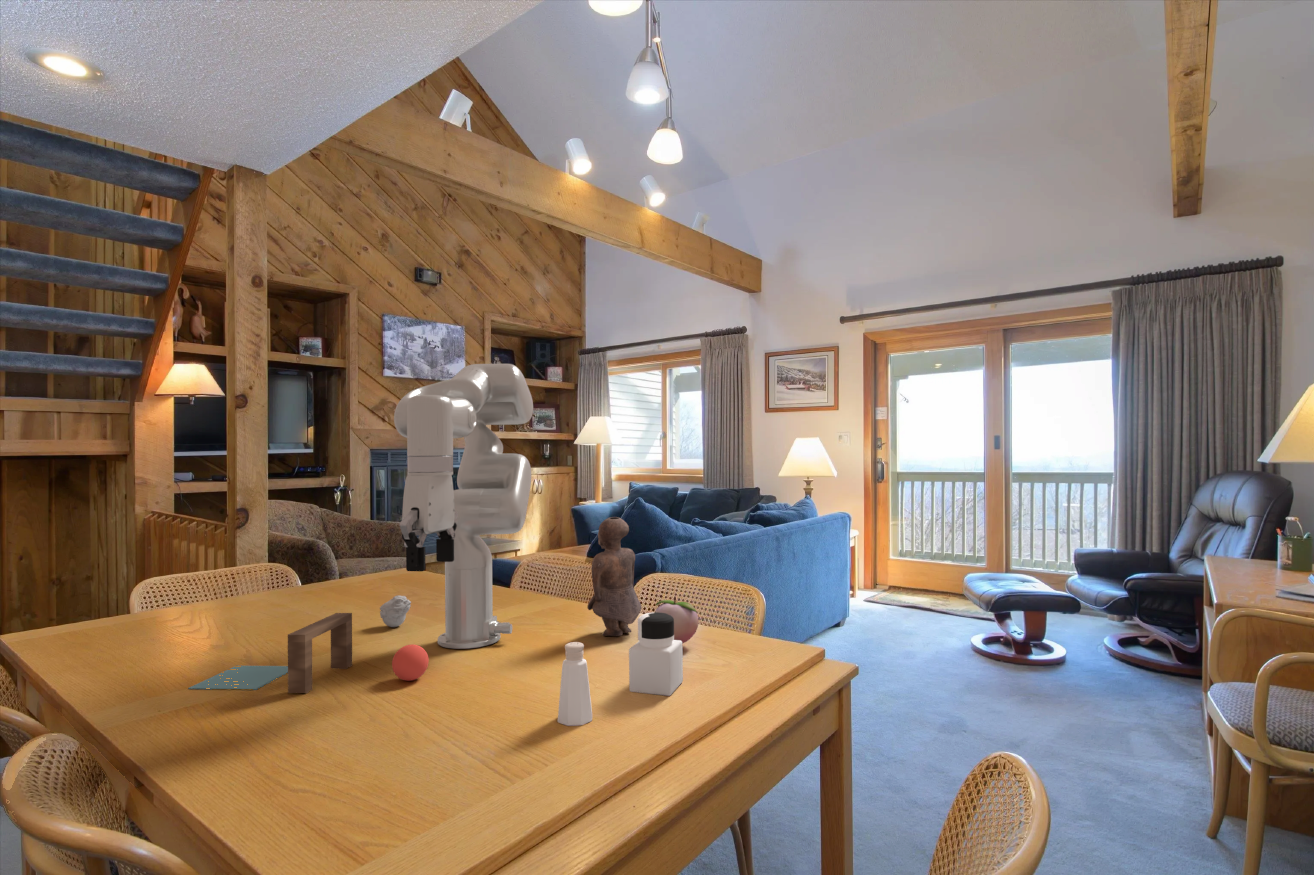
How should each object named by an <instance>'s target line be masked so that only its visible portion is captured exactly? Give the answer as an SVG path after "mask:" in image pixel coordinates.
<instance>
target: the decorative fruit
mask: <svg viewBox="0 0 1314 875" xmlns="http://www.w3.org/2000/svg"><path fill="white" fill-rule="evenodd" d="M676 597H677V596H674V597H673V600H671V599H662V600H659V601H658V602H656V603H655V606H657V608H656V609H655V611H654V612H660V613H666V614H669V615H671V616H672V617H673V618H674V640H681V641H682V645H683V644H684V643H687V642H688V641H689V640H690V639H691V638H692V637H693V636H694V635H695V634H696V633H697V630H698V628H699V627H698V626H699V616H698V613H697V610H696V608H695V607H694V606H693V605H692V604H691V603H688V602H687V601H686V602H685V601H679V602H676V601H677V600H676ZM658 605H659V606H658Z"/></svg>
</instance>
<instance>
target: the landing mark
mask: <svg viewBox="0 0 1314 875" xmlns="http://www.w3.org/2000/svg"><path fill="white" fill-rule="evenodd" d="M240 666H241V667H235V666H232V667H231V668H229V669H236V670H228V669H226V670H224V671H223V672H224V673H222V672H220V673H217V674H215V675H213V676H212V677H209V678H207V679H204V680H203V681H200V682H198V683H196V684H194V685H191V686H190V687H188V688H187V689H188V690H207V689H206V688H210V689H209V690H212V689H253V690H252V691H257V690H259V689H261V688H262V687H264V685H265V686H267V685H269V684H271V683H272V682H274V681H276V680H277V679H276V678H278V679H279V677H280V678H282V677H283V676H285V675H287V674H288V665H240ZM237 669H238V670H237ZM237 672H238V673H237ZM286 673H287V674H286ZM219 675H221V676H219ZM222 675H223V676H222ZM282 675H283V676H282ZM220 678H221V679H220ZM226 678H230V679H226ZM231 678H232V679H231ZM275 679H276V680H275ZM273 680H274V681H273ZM208 681H209V682H208ZM224 681H229V682H224ZM233 681H238V682H233ZM243 681H244V682H243ZM271 681H272V682H271ZM208 684H209V685H208ZM215 684H216V685H215ZM217 684H218V685H217ZM226 684H227V685H226ZM234 684H239V685H234ZM247 684H248V685H247ZM266 684H267V685H266ZM231 685H232V686H231ZM234 687H237V688H234ZM260 687H261V688H260ZM258 688H259V689H258Z"/></svg>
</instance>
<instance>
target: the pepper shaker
mask: <svg viewBox="0 0 1314 875" xmlns="http://www.w3.org/2000/svg"><path fill="white" fill-rule="evenodd" d="M584 647H585V645H584V643H582V642H579V641H573V642H572V641H571V642H568V643H566V644H565V645H564V649H565V652H564V653H565V659H564V660H562V666H561V677H560V678H561V679H560V690H559V701H558V710H557V713H558V714H557V723H558V724H561V725H564V726H567V727H575V726H578V727H579V726H583V725H585V724H588V723H590V722H592V721H593V710H592V699H591V690H590V681H589V671H588V662H587V659H585V658H584V654H585V653H584V652H585V651H584Z"/></svg>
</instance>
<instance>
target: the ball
mask: <svg viewBox="0 0 1314 875" xmlns="http://www.w3.org/2000/svg"><path fill="white" fill-rule="evenodd" d="M429 661H430V658H429V654H428V653H427V651H426V650H425V649H424V648H423V647H422V646H420V645H418V644H415V643H413V644H407V645H404V646H402V647H400V648H399V649H398V650H397V651H396V652H395V653H394V655H393V657H392V660H391V667H392V668H391V669H392V671H393V673H394V675H395V676H396V677H397V678H398V679H400V680H401V681H402V680H403V681H405V682H406V681H408V682H410V681H415V680H418V679H419V678H420V677H422V676H423V675H424V674H425V672H426V671H427V669H428V666H429V664H430V663H429Z"/></svg>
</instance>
